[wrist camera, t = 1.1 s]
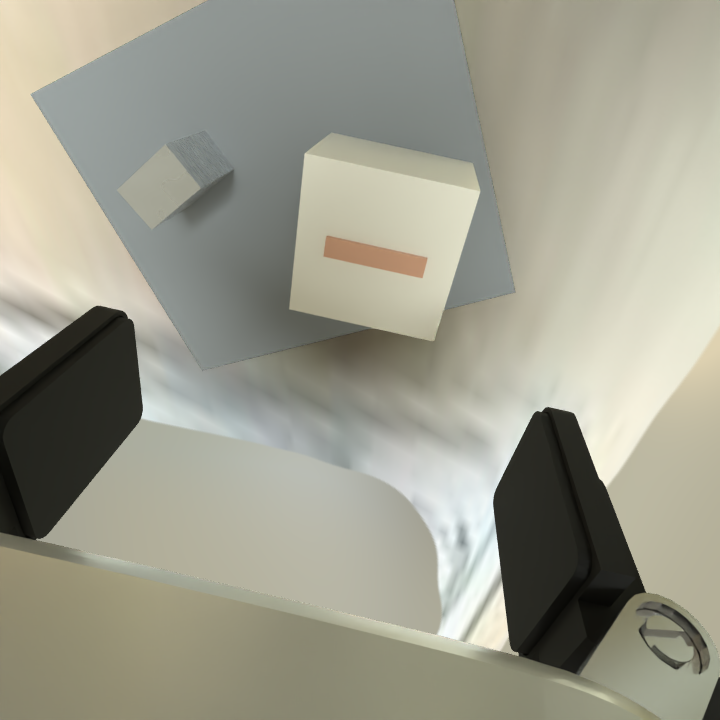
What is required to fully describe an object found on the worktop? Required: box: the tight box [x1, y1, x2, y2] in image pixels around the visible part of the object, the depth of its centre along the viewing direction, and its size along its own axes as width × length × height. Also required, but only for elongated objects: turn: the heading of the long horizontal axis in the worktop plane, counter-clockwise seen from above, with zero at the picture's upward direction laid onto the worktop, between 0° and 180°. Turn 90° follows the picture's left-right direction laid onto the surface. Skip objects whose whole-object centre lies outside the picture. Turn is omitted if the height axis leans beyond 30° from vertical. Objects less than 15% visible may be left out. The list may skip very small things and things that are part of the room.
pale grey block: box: [117, 130, 234, 230], centre depth 21 cm, size 3×2×4 cm, turn 125°
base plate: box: [31, 0, 515, 371], centre depth 24 cm, size 19×16×2 cm
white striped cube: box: [289, 133, 480, 342], centre depth 21 cm, size 6×6×5 cm
